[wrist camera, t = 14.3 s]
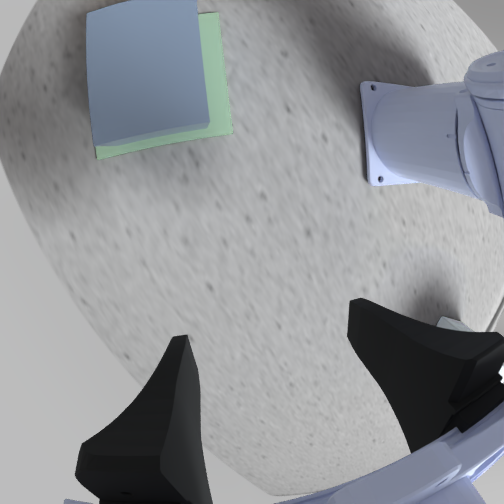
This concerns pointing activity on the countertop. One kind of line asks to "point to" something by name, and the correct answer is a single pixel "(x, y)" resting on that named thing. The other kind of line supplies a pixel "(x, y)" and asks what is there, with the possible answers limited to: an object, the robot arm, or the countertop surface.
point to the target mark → (214, 90)
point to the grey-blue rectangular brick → (145, 71)
